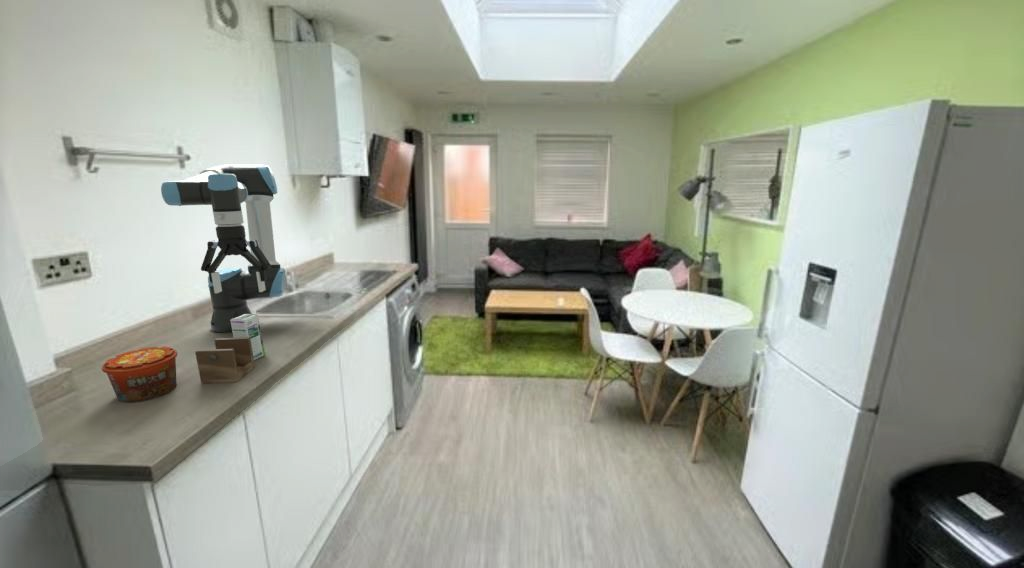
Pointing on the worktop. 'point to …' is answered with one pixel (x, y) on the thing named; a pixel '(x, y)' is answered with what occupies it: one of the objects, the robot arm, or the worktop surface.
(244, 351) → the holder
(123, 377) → the food container
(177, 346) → the worktop surface
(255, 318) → the syrup box
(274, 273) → the robot arm
